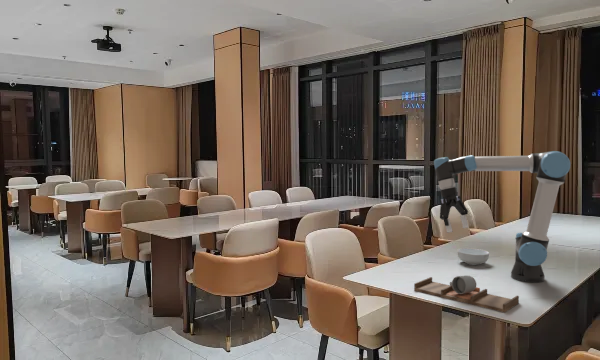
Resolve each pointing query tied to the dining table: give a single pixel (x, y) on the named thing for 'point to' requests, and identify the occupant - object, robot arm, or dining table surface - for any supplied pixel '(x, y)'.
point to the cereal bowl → (473, 256)
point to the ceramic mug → (463, 284)
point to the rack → (467, 295)
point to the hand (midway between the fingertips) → (458, 230)
